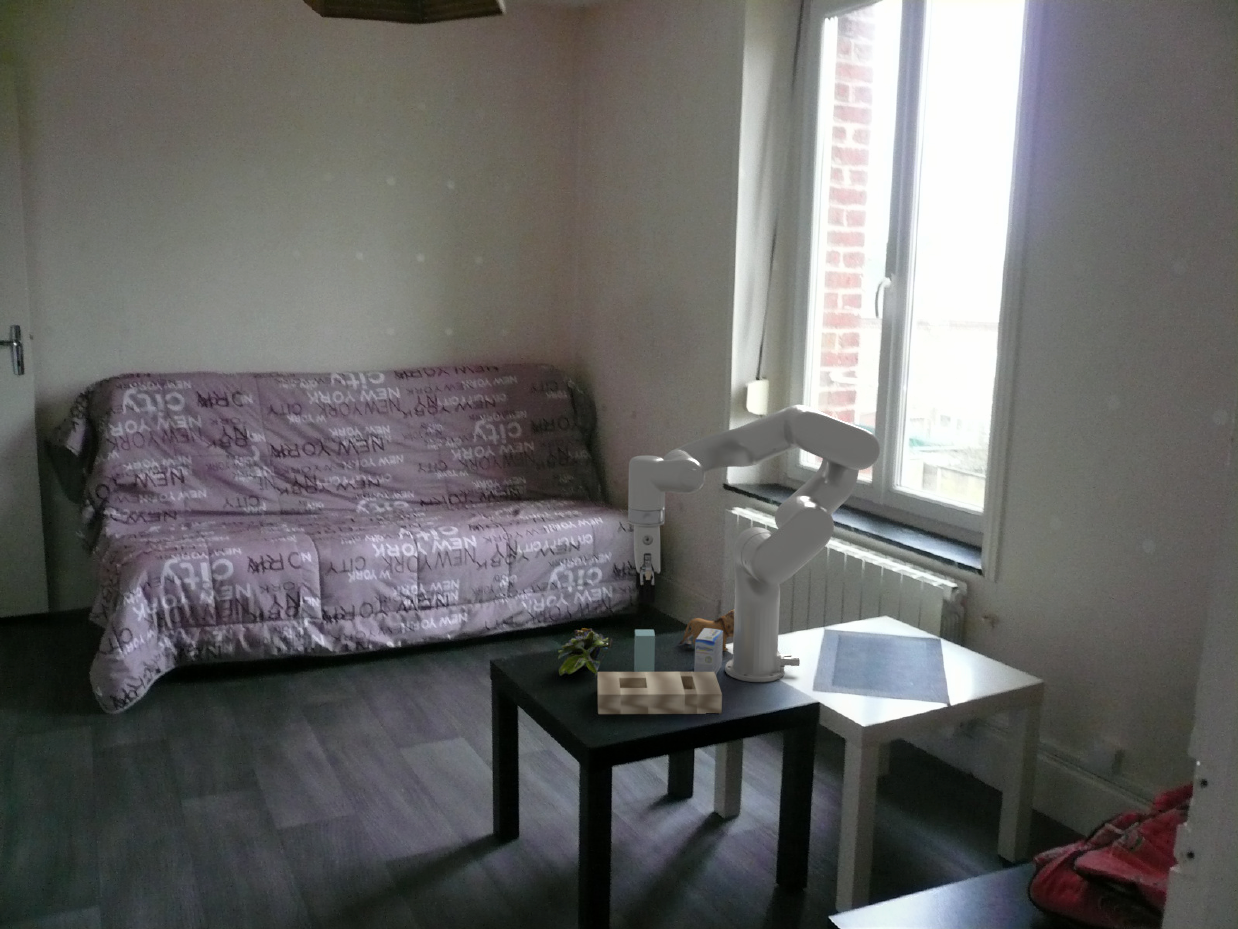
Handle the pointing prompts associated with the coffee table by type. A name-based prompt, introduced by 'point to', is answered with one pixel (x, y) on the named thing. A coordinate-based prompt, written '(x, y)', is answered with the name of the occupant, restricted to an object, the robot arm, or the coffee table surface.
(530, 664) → the coffee table surface
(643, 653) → the square peg
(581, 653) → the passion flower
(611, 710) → the bore board
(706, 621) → the lion figurine
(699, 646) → the medicine box
